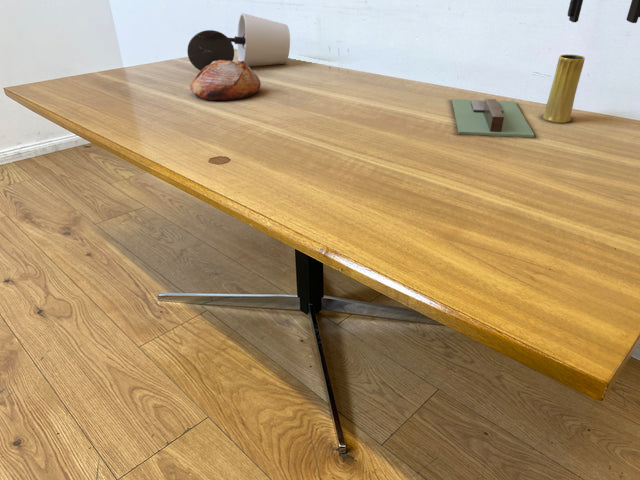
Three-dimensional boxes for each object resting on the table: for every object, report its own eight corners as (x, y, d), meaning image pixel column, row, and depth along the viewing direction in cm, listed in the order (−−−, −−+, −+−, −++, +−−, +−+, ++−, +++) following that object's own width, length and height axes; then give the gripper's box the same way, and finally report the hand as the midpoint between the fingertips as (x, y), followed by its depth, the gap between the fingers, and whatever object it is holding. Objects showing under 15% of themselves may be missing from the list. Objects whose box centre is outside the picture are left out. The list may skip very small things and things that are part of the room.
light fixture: (183, 46, 170) (277, 54, 180) (187, 75, 158) (287, 81, 169) (183, -3, 157) (284, 9, 168) (187, 25, 146) (295, 35, 157)
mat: (514, 103, 127) (514, 101, 127) (534, 137, 106) (534, 135, 105) (452, 101, 130) (452, 99, 129) (458, 134, 108) (459, 131, 108)
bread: (266, 101, 135) (264, 64, 129) (194, 108, 130) (189, 70, 124) (254, 83, 148) (252, 49, 142) (188, 89, 142) (183, 53, 137)
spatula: (512, 132, 107) (515, 117, 105) (479, 131, 108) (481, 116, 106) (498, 104, 125) (500, 90, 123) (470, 103, 126) (472, 89, 124)
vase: (573, 118, 116) (590, 56, 109) (565, 124, 112) (582, 60, 105) (547, 113, 120) (562, 52, 112) (538, 119, 116) (553, 57, 108)
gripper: (582, -96, 75) (555, 24, 84) (705, -98, 73) (663, 25, 82) (570, -93, 81) (546, 18, 91) (682, -95, 79) (646, 19, 88)
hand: (601, 21), depth 86 cm, fingers open, 9 cm apart
